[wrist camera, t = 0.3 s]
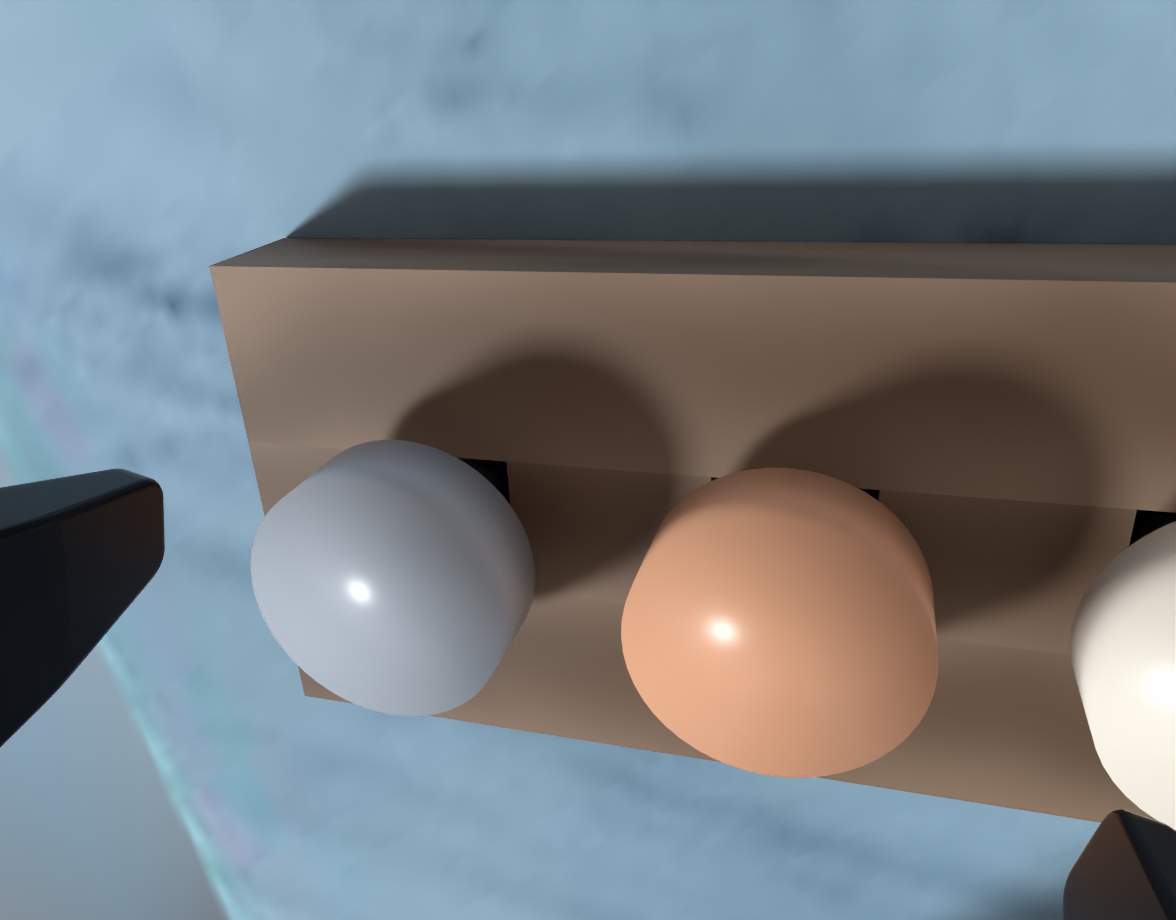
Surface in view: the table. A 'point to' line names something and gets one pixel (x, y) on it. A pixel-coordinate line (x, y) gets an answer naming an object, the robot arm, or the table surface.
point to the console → (753, 442)
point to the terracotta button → (783, 624)
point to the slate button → (396, 576)
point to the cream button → (1133, 667)
